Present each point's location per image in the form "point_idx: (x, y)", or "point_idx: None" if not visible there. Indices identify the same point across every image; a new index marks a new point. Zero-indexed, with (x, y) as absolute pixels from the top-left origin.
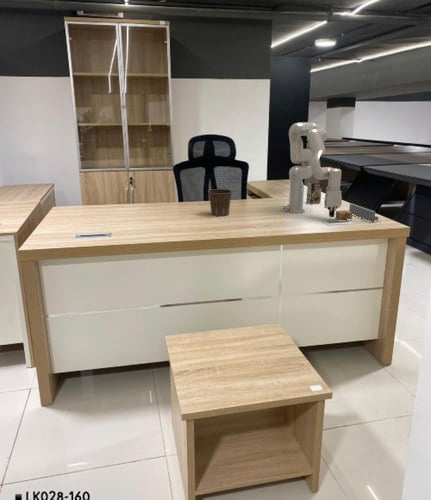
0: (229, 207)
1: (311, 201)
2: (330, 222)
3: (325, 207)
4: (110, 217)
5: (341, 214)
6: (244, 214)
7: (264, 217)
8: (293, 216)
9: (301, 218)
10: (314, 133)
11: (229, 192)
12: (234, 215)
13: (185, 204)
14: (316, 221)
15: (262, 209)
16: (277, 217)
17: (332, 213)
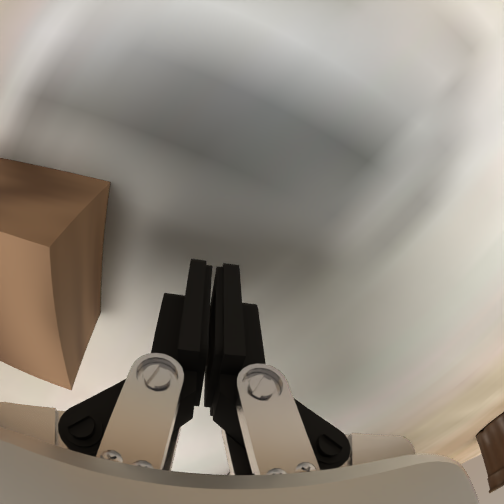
0: (499, 438)
1: None
2: (336, 145)
3: (407, 449)
4: None
5: (37, 225)
6: (472, 427)
7: (485, 399)
8: (395, 416)
9: (412, 379)
10: None
11: (496, 483)
12: (495, 415)
13: None
14: (428, 271)
15: None
16: (462, 400)
17: (227, 313)
